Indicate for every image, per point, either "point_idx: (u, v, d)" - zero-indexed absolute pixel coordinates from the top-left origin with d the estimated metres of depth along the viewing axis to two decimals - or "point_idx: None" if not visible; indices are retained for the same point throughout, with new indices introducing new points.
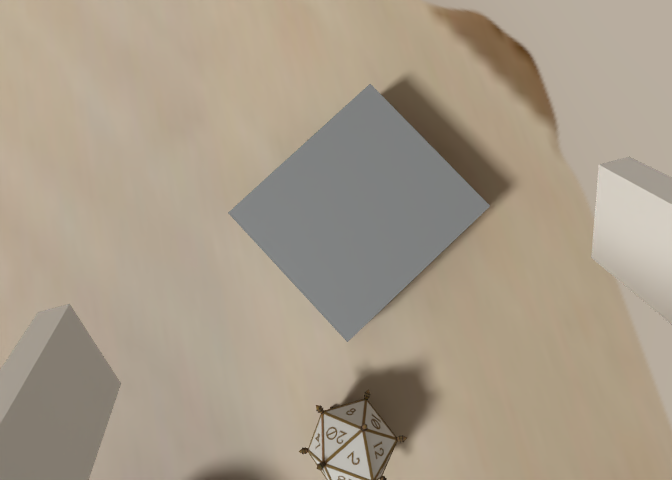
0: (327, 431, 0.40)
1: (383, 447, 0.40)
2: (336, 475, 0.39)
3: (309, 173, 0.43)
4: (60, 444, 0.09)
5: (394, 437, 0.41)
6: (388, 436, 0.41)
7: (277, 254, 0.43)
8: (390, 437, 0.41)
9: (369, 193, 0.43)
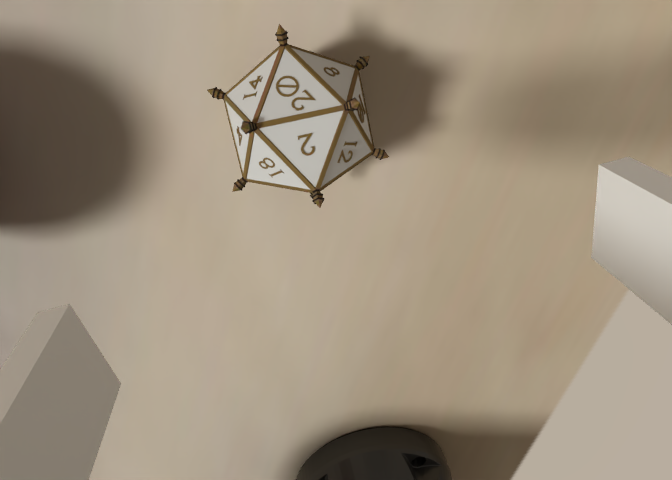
0: (281, 79, 0.21)
1: (354, 152, 0.23)
2: (263, 154, 0.22)
3: None
4: (60, 444, 0.09)
5: (372, 147, 0.25)
6: (368, 140, 0.24)
7: None
8: (368, 143, 0.24)
9: None
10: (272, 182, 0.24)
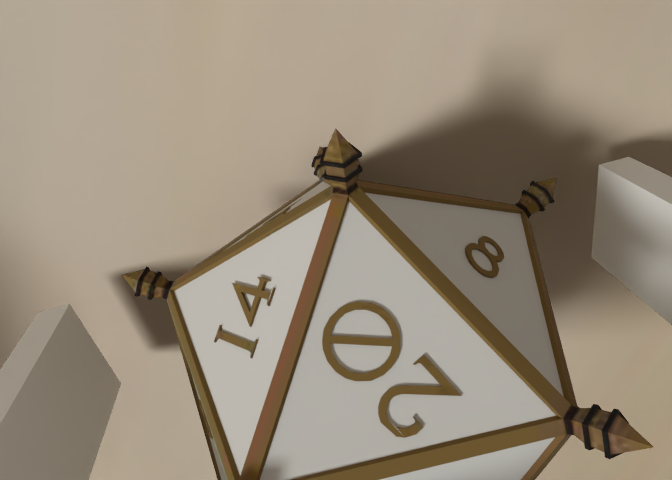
0: (340, 314, 0.06)
1: None
2: None
3: None
4: (60, 444, 0.09)
5: None
6: None
7: None
8: None
9: None
10: None
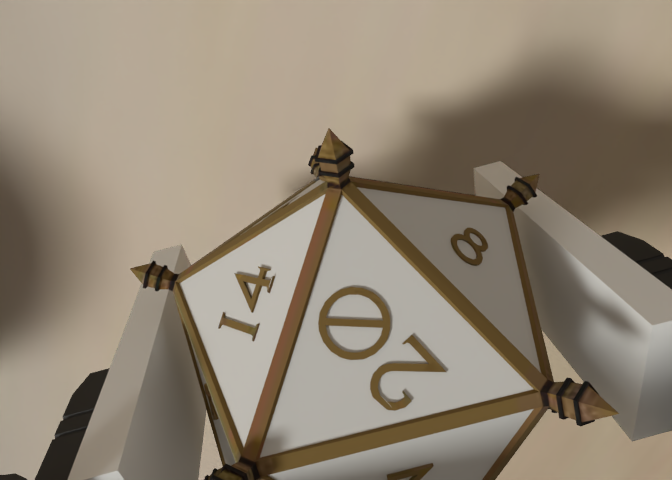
0: (334, 298, 0.07)
1: None
2: None
3: None
4: (190, 358, 0.11)
5: None
6: None
7: None
8: None
9: None
10: None
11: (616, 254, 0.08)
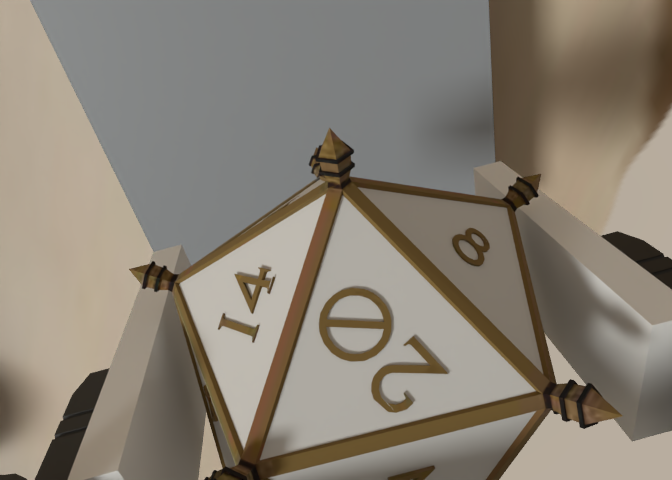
0: (335, 300, 0.07)
1: None
2: None
3: (251, 12, 0.19)
4: (190, 358, 0.11)
5: None
6: None
7: (116, 137, 0.21)
8: None
9: (341, 117, 0.22)
10: None
11: (616, 254, 0.08)
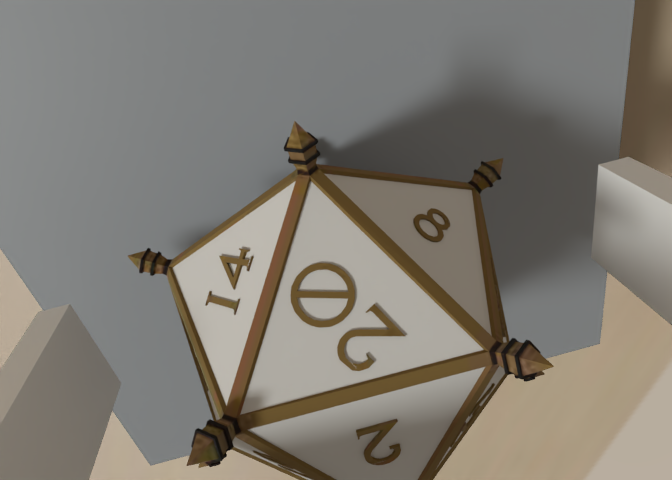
0: (305, 274, 0.08)
1: (482, 400, 0.10)
2: (262, 452, 0.08)
3: (242, 41, 0.11)
4: (60, 444, 0.09)
5: None
6: None
7: (25, 240, 0.13)
8: None
9: None
10: (287, 470, 0.10)
11: None
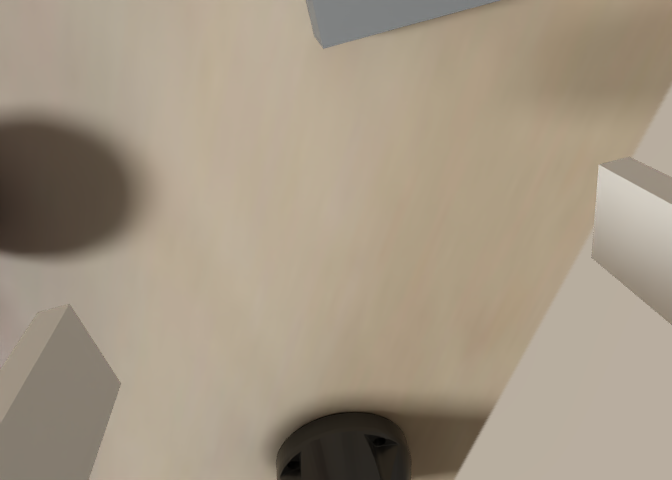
0: None
1: None
2: None
3: None
4: (60, 444, 0.09)
5: None
6: None
7: None
8: None
9: None
10: None
11: None
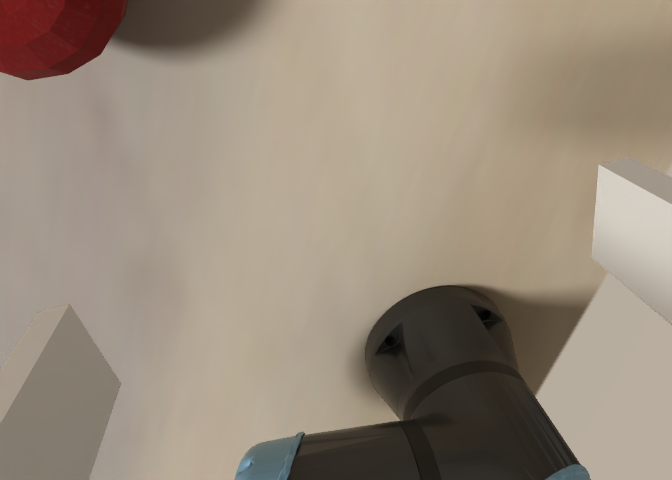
0: None
1: None
2: None
3: None
4: (60, 444, 0.09)
5: None
6: None
7: None
8: None
9: None
10: None
11: None
